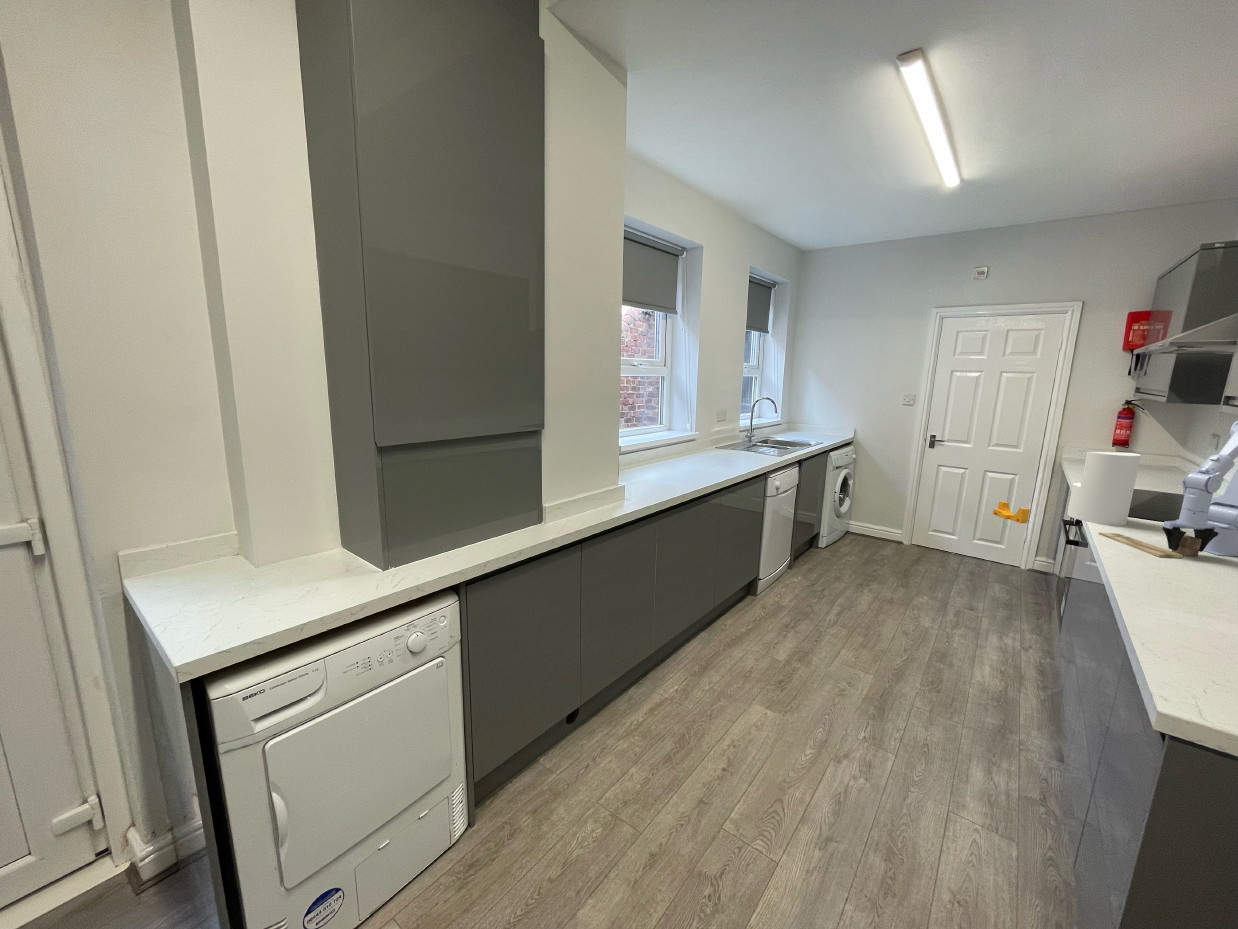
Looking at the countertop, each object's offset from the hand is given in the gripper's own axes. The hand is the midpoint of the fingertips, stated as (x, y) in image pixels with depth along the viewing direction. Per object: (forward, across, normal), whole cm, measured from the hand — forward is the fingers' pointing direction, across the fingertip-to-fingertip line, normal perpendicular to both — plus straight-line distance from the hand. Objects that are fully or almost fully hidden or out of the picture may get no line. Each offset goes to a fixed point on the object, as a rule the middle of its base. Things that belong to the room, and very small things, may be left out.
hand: (1185, 550), depth 160 cm
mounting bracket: (+2, +32, -34) cm, 46 cm away
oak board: (+2, +8, -7) cm, 11 cm away
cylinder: (+2, -5, -39) cm, 39 cm away
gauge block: (+2, 0, 0) cm, 2 cm away
